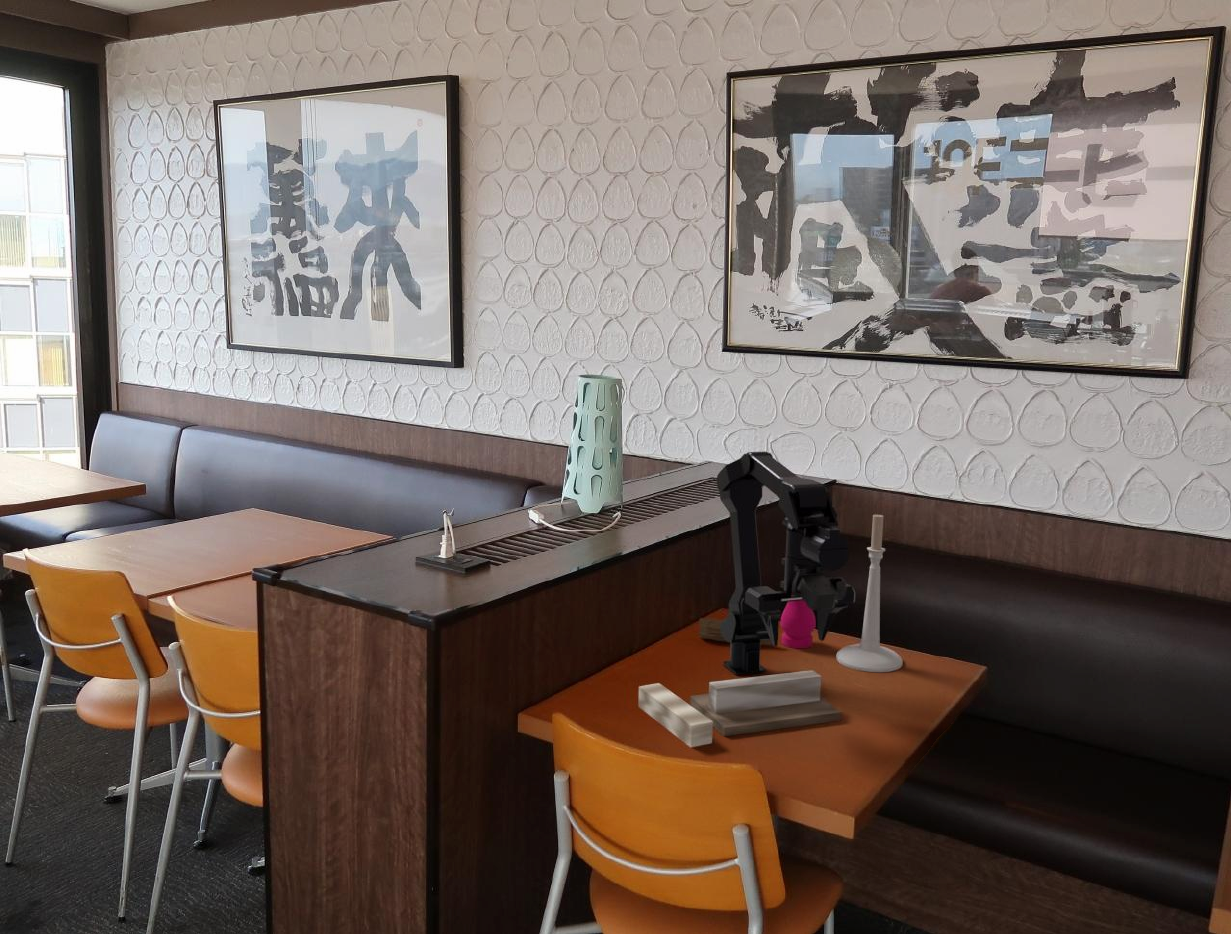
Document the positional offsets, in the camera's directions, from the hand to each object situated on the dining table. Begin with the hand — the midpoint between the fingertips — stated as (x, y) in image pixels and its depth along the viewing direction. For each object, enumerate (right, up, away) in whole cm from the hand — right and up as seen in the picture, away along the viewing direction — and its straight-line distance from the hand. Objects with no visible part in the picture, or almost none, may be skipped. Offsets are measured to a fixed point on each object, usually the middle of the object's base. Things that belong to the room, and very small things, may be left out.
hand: (798, 642), depth 181 cm
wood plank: (-7, -6, +36) cm, 37 cm away
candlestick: (+19, -8, +26) cm, 33 cm away
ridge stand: (-6, -12, 0) cm, 13 cm away
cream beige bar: (-22, -13, -5) cm, 26 cm away
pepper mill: (+6, -6, +36) cm, 37 cm away
